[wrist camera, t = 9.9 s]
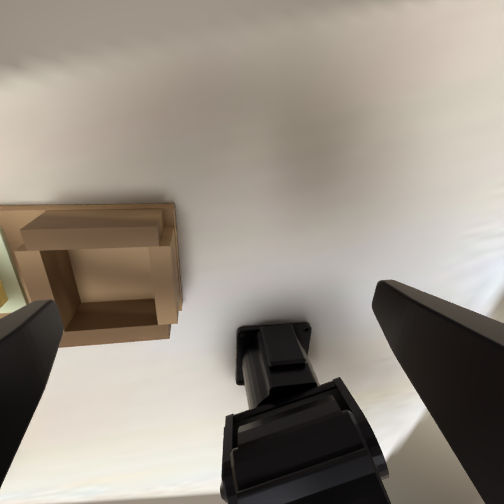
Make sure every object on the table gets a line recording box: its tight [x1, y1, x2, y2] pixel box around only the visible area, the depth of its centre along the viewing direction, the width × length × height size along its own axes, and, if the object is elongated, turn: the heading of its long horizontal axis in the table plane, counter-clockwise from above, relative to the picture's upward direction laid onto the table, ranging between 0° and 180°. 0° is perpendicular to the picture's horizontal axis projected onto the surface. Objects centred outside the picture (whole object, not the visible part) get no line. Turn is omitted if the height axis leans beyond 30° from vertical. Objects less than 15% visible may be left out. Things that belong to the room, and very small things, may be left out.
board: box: [0, 203, 182, 319], centre depth 20 cm, size 8×17×1 cm, turn 88°
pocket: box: [14, 209, 180, 348], centre depth 19 cm, size 8×8×3 cm
